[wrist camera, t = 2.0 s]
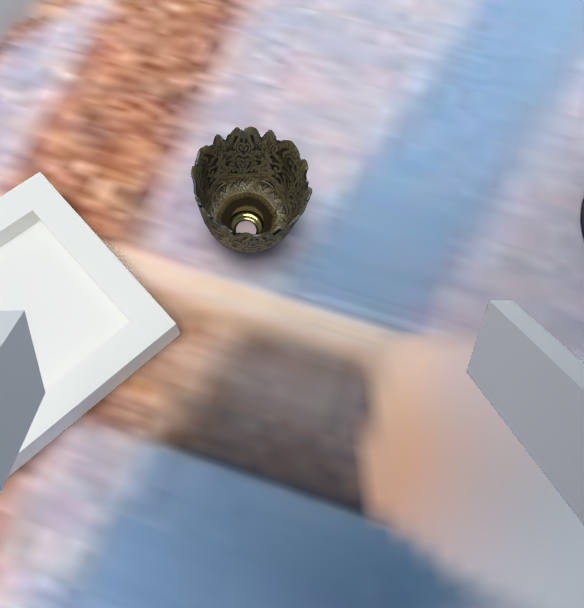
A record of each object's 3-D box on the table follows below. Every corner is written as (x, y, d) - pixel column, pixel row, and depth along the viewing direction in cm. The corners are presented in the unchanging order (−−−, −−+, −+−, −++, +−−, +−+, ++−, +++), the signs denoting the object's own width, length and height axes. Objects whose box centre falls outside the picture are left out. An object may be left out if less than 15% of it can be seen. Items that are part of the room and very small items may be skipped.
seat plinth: (57, 196, 35) (39, 171, 31) (180, 334, 33) (176, 323, 30) (-125, 317, 31) (-167, 303, 27) (7, 478, 30) (-20, 484, 26)
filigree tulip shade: (194, 188, 37) (188, 124, 29) (287, 185, 38) (304, 124, 30) (200, 278, 35) (195, 236, 27) (297, 272, 36) (318, 231, 28)
